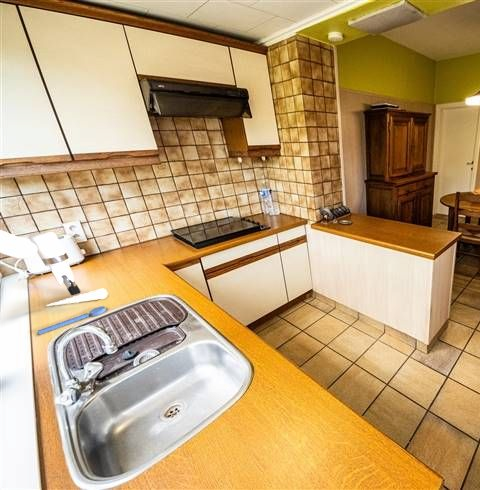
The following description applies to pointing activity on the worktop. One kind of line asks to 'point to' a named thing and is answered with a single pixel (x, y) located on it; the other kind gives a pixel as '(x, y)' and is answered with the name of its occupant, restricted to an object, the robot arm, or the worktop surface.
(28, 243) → the robot arm
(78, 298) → the unicorn horn
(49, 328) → the blue spoon
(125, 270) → the worktop surface
